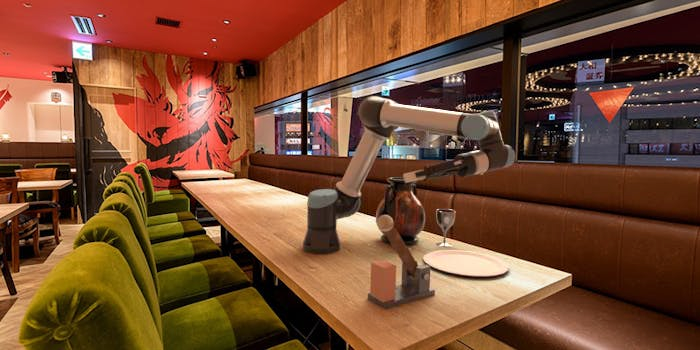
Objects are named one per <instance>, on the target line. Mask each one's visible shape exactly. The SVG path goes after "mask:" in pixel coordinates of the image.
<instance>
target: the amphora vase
mask: <svg viewBox="0 0 700 350" xmlns="http://www.w3.org/2000/svg"><path fill="white" fill-rule="evenodd" d="M386 181H387V182H388V183H390V185H389V184H388V185H387V186H386V187H385V190H384V198H382V200H381V201H380V203H379V204H378V207H377V209H376V212H375V213H376V214H375V223H376V224H377V220H378V218H379V217H380V216H382V215H388V216H390V217H391V218H392V219H393V222H394V227H395V228H396V230H397V232H398V233H399V235H400V237H401V238H402V240H403V241H404V243H405V245H406V246H407V247H408V246H413V245H416V244H418V242H419V237H418V235H419V234H421V232H422V231H423V230H424V227H425V223H426V215H425V214H426V213H425V210H424V206H423V204H422V203H421V201H420V200H419V198H417V197H418V189H417V186H416V184H415V183H417V181H418V180H417V181H413V182H408V183H405V180H404V177H403V176H401V177H398V176H397V177H388V178H387V179H386ZM378 230H379V231H380V232H381V233H382V235H381V236H380V240H381V241H382V242H383V243H386V244H388V245H391V243H390V241H389V240H388V238H387V237H386V235H385V234H384V232H383V231H381V230H380V229H379V228H378Z"/></svg>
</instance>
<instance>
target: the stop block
mask: <svg viewBox="0 0 700 350" xmlns="http://www.w3.org/2000/svg"><path fill="white" fill-rule="evenodd" d="M370 263H371V264H370V287H369V288H370V290H369V291H370V292H369V293H370V295H372V296H373V297H375V298H377V299H378V300H380V301H382V302H387V301H390V300H394V299H395V289H396V286H397V285H396V283H397V265H395V264H394V263H391V262H389V261H387V260H384V259H381V260H375V261H371V262H370Z"/></svg>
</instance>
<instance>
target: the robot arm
mask: <svg viewBox="0 0 700 350" xmlns="http://www.w3.org/2000/svg"><path fill="white" fill-rule="evenodd" d="M358 117H359V120H360V121H361V122H362V124H363V128H364V133H363V135H362V136H361V139H360V141H359V143H358V145H357V146H356V147H357V148H356V149H355V151H354V153H353V154H354V155H352V158H351V160H350V162H349V164H348V167H347V169H346V171H345V173H344V175H343V177H342V179H341V181H338V182H336V184H335V185H334V187H333V188H334V189H333V188H332V189H330V188H323V189H315V190H313V191H311V192H309V194H308V196H307V202H306V203H307V204H306V205H307V221H306V222H307V225H306V226H307V227H306V228H307V229H306V233H305V236H304V238H303V241H302V250H303V251H304V252H305V253H310V254H317V255H327V254H333V253H337V252H339V251H340V250H341V242H340V238H339V235H338V230H337V223H338V221H337V220H341V219H345V218H349V217H351V216H353V215H354V214H356V213H357V212H358V211H359V209H360V206H361V204H362V203H361V196H362V191H361V189H362V186H363V184H364V182H365V181H366V178H367V176H368V174H369V172H370V170H371V168H372V166H373V164H374V162H375V160H376V158H377V156H378V154H379V152H380V149H381V148H382V146H383V145H384V141H386V140H389V139H390V138H391V136H392V134H393V132H394V131H395V130H398V129H399V128H404V129H411V130H415V131H422V132H426V133H434V134H440V135H445V136H452V137H459V138H464V139H469V140H471V141H472V140H473V141H477V143H478V148H479V150H473V151H469V152H465V153H460V154H457V155H456V156H455V157H454V159H453V160H449V161H446V162H442V163H438V164H435V165H430V166H428V167H427V166H426V165H425V166H423V169H418V170H415V171H410V172H405V173H403V175H402V177H403V178H404V180H405V183H408V182H413V181H420V180H421V181H423V182H426V181H428V180H432V179H439V178H441V179H442V178H445V177H446V176H454V175H456V174H457V176H459V177H460V178H467V177H470V176H473V175H474V176H475V175H479V174H480V175H481V176H483V175H484V173H489V172H492V171H493V172H494V171H498V170H501V169H505V168H508V167H510V166H512V165H513V164H514V163H515V159H516V154H515V153H516V152H515V150H514V149H513V148H512V146H510V145H508V144H504V141H503V138H502V133H501V130H500V126H499V123H498V118H497V116H496V113H495V111H493V110H485V111H482V112H480V113H467V112H466V113H464V112H458V111H450V110H444V109H436V108H428V107H423V106H422V107H421V106H414V105H405V104H400V103H398V102H396V101H394V100H392V99H389V98H384V97H381V96H377V95H375V96H368V97H366V98H365V99H364V100H363V101H362V102H361V103H360V105H359V108H358Z"/></svg>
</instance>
